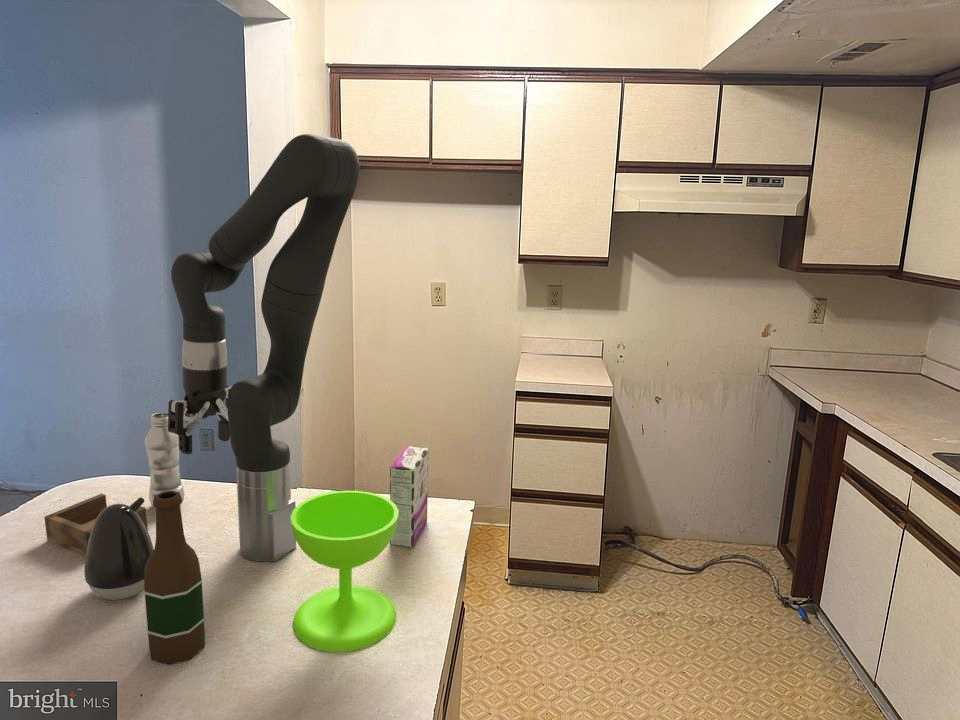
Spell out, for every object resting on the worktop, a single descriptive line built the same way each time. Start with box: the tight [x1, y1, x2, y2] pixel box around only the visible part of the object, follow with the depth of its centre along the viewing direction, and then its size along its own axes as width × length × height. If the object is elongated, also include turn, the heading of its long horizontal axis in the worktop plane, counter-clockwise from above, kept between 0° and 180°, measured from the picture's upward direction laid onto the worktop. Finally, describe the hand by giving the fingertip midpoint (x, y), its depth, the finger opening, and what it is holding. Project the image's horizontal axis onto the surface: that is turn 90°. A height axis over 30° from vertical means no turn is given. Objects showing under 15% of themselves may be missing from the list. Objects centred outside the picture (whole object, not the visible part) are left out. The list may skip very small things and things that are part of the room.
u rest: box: [43, 493, 149, 556], centre depth 121 cm, size 12×11×5 cm
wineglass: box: [290, 490, 399, 653], centre depth 100 cm, size 16×16×18 cm
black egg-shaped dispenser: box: [83, 496, 155, 601], centre depth 104 cm, size 10×10×15 cm
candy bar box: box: [389, 445, 429, 548], centre depth 127 cm, size 11×5×16 cm, turn 170°
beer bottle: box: [143, 491, 206, 666], centre depth 91 cm, size 8×8×24 cm
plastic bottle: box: [144, 412, 185, 510], centre depth 132 cm, size 6×7×20 cm
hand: (205, 446), depth 121 cm, fingers open, 8 cm apart
